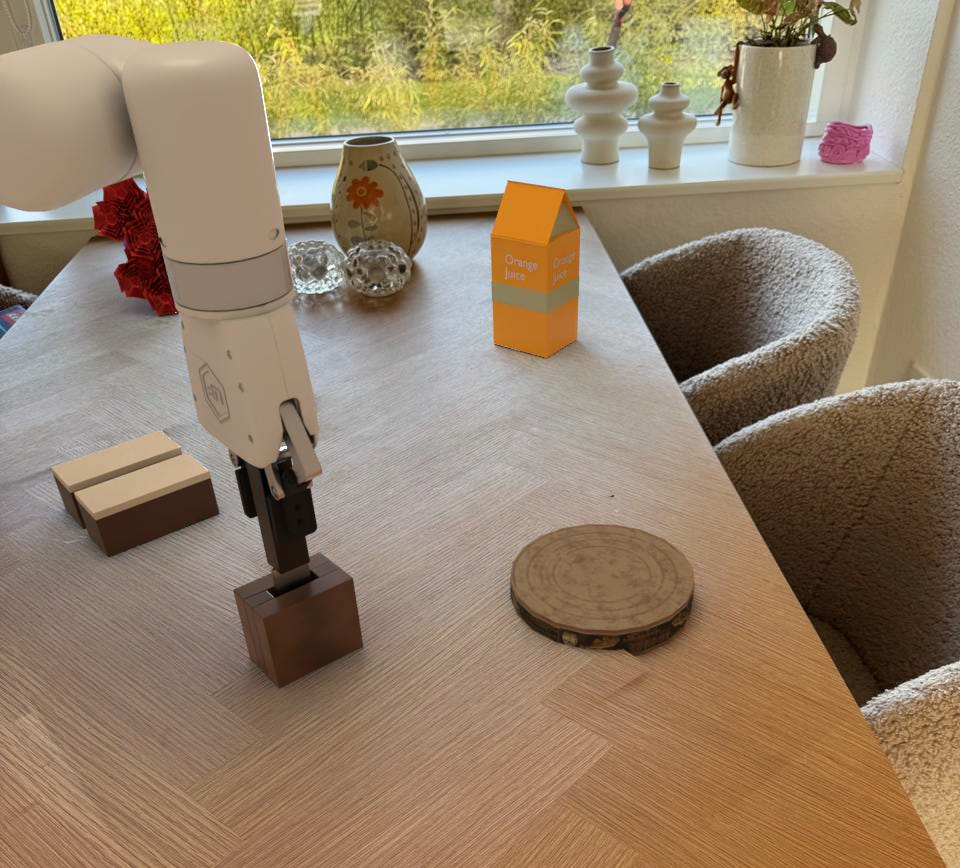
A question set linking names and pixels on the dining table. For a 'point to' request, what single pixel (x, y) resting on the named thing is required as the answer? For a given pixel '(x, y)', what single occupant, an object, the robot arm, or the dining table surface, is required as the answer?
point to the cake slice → (147, 503)
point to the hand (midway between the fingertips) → (280, 521)
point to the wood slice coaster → (603, 588)
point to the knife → (283, 558)
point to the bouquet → (135, 244)
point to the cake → (110, 466)
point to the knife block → (300, 622)
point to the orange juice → (535, 269)
